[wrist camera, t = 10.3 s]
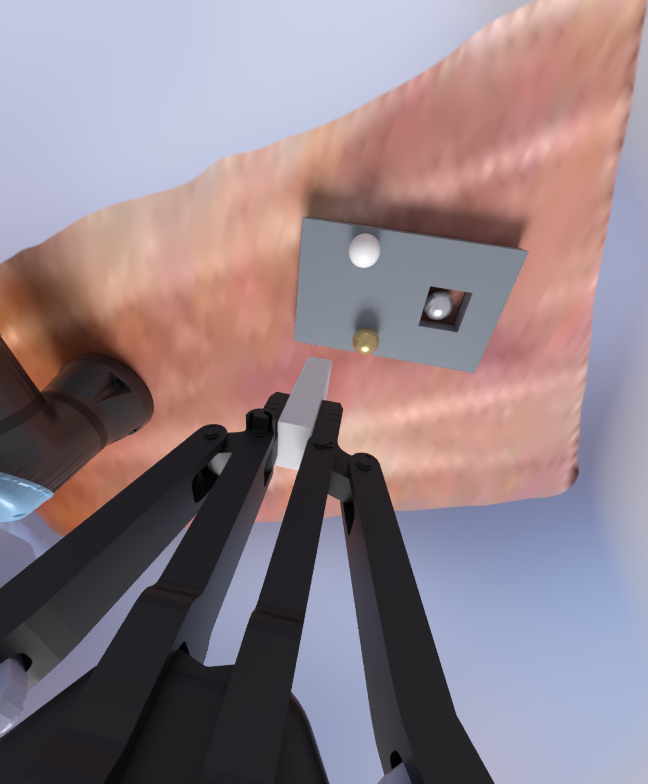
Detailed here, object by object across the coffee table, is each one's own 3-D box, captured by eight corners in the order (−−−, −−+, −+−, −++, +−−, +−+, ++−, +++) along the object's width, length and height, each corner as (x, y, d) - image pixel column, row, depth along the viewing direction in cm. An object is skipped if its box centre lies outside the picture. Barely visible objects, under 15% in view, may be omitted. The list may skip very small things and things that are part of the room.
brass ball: (351, 346, 39) (349, 357, 36) (355, 321, 37) (353, 331, 35) (376, 350, 39) (376, 361, 36) (382, 326, 37) (382, 336, 34)
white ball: (348, 262, 34) (345, 267, 31) (353, 229, 32) (350, 232, 29) (376, 266, 34) (376, 272, 31) (383, 234, 32) (383, 237, 29)
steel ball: (418, 319, 36) (447, 326, 35) (427, 291, 34) (457, 297, 33) (421, 312, 38) (448, 318, 37) (429, 285, 36) (457, 291, 36)
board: (298, 333, 42) (294, 340, 40) (307, 216, 34) (302, 217, 32) (469, 364, 40) (474, 373, 38) (519, 248, 33) (528, 251, 31)
